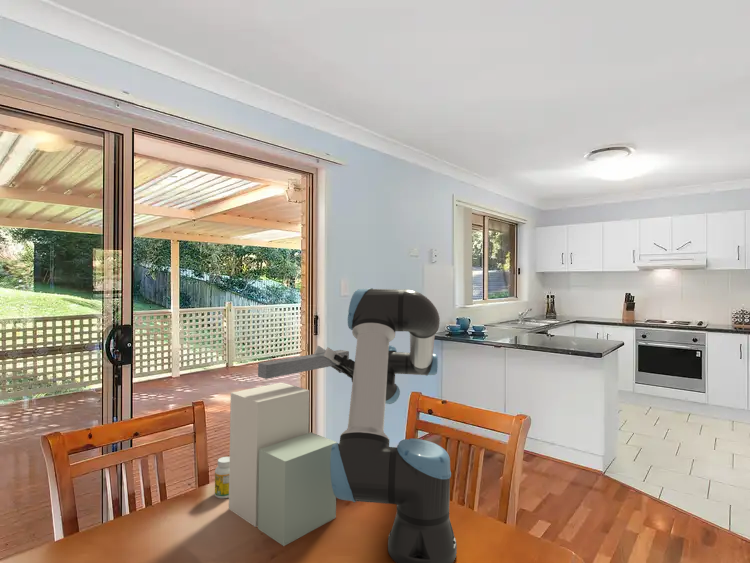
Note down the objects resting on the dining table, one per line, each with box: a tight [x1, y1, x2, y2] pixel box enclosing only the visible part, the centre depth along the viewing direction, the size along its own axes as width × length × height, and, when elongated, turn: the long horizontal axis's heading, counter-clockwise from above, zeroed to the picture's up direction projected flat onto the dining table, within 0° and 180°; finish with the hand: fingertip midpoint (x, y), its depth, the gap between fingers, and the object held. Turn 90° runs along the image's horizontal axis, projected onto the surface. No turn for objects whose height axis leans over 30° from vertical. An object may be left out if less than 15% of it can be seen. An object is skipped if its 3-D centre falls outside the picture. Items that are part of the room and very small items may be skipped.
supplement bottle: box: [214, 456, 230, 500], centre depth 121 cm, size 5×5×10 cm
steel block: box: [257, 349, 350, 380], centre depth 125 cm, size 30×4×4 cm, turn 139°
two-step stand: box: [228, 382, 338, 547], centre depth 112 cm, size 16×23×30 cm
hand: (321, 350), depth 129 cm, fingers closed on steel block, 3 cm apart
